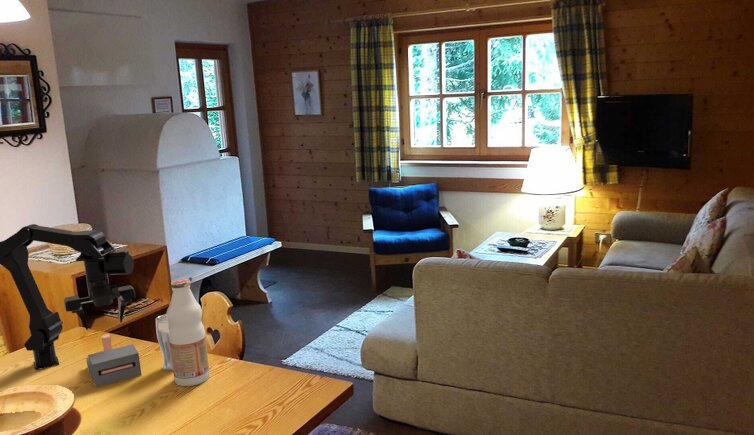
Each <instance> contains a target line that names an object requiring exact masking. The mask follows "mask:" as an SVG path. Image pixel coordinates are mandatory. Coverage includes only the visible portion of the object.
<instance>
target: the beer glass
mask: <svg viewBox="0 0 754 435" xmlns="http://www.w3.org/2000/svg"><path fill="white" fill-rule="evenodd" d="M169 328H170V325H169V322H168V320H167V313H165V314H162V315H159V316H157V317H156V318H155V330H156V337H157V341H158V345H159V348H160V351H161V355H162V360H163V361H162V369H163V371H166V372H167V371H168V372H171V371H172V372H173V366H172V358H171V350H170V343H169Z"/></svg>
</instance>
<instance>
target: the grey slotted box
mask: <svg viewBox="0 0 754 435" xmlns="http://www.w3.org/2000/svg"><path fill="white" fill-rule="evenodd" d="M87 356H88V357H86V358H85V359H86V360H85V361H86V366H87V369H88V372H89V374H90V377H91V380H92V381H93V384H94V387H95V388H100V387H102V386H103V387H104V386H106V385H107V386H108V385H111V384H114V383H117V382H121V381H125V380H126V381H127V380H129V379H132V378H133V379H134V378H136V377H140V376H142V367H141V362H140V354H139V352H138V350H137V349H136V347H135V344H133V343H131V344H127V345H124V346H120V347H116V348H112V349H111V350H107V351H104V350H103V351H99V352H95V353H90V354H88V355H87ZM127 363H132V365H133V366H131V367H128V368H124V369H120V370H116V371H112V372H108V373H105V374H102V373H101V371H100V370H104V369H107V368H111V367H115V366H119V365H123V364H127Z"/></svg>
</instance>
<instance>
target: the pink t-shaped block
mask: <svg viewBox="0 0 754 435" xmlns="http://www.w3.org/2000/svg"><path fill="white" fill-rule="evenodd" d="M111 339H112V338H111V336H110V334H109V333H107V334H103V335H101V341H102V342H101V343H102V347H103V351H107V350H111V349H113V345H112V340H111ZM131 366H133V365H132V363H127V364H123V365H119V366H115V367H111V368H107V369H104V370H100V371H101V373H102V374H105V373H108V372H112V371H116V370H120V369H124V368H128V367H131Z"/></svg>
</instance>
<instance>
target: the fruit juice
mask: <svg viewBox="0 0 754 435" xmlns="http://www.w3.org/2000/svg"><path fill="white" fill-rule="evenodd" d="M170 287H171V290H172V294H171V298H170V299H171V300H170V303H169V306H168V308H167V310H166V314H167V320H168V322H169V325H170V328H169V343H170V350H171V358H172V366H173V371H172V373H173V380H174V382H175V384H176V385H177V386H180V387H192V386H196V385H200V384H202V383H204V382H206V381H207V380H208V379H209V378H210V364H209V356H208V349H207V348H208V347H207V340H206V333H205V330H206V329H205V326H204V324H203V322H202V316H203V310H202V306H201V305H200V303H198V301H197V300H196V298H195V296H194V294H193V292H192V290H191V281H190V279H188V278H187V279H186V278H185V279H182V278H181V279H177V280H174V281H171V283H170Z"/></svg>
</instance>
